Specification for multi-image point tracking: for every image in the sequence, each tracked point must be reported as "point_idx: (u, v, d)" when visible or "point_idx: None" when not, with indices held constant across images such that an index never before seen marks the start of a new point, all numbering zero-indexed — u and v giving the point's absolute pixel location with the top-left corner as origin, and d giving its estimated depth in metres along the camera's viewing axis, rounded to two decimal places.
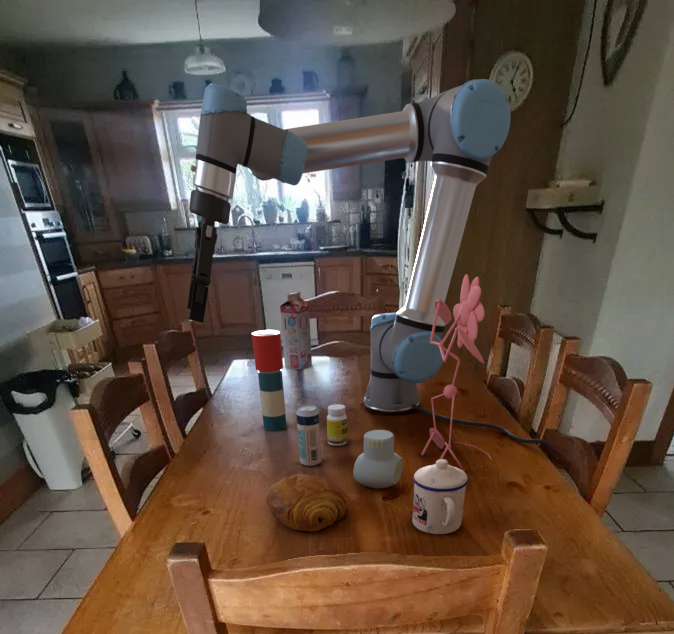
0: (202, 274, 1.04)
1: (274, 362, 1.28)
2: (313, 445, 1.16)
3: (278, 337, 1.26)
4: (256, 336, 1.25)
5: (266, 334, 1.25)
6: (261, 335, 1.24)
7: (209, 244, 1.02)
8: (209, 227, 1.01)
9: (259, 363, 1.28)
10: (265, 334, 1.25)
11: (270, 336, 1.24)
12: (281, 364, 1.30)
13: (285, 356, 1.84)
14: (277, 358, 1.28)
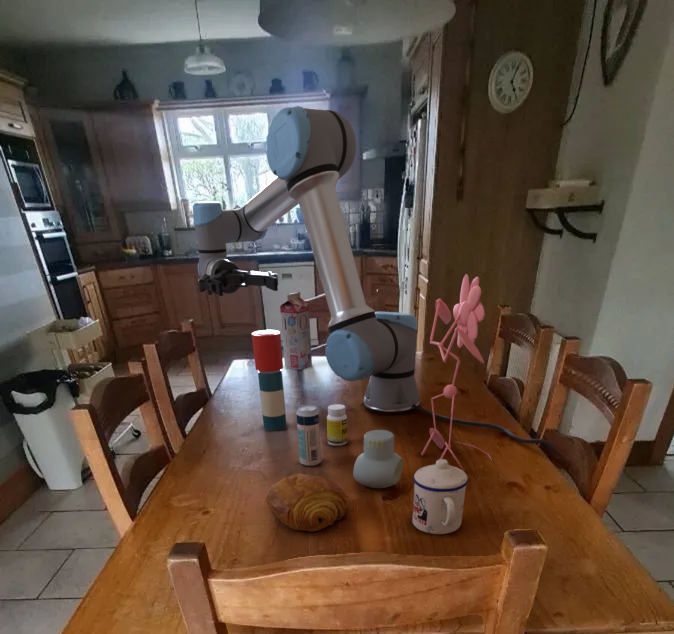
0: None
1: (274, 362, 1.28)
2: (313, 445, 1.16)
3: (278, 337, 1.26)
4: (256, 336, 1.25)
5: (266, 334, 1.25)
6: (261, 335, 1.24)
7: None
8: None
9: (259, 363, 1.28)
10: (265, 334, 1.25)
11: (270, 336, 1.24)
12: (281, 364, 1.30)
13: (285, 356, 1.84)
14: (277, 358, 1.28)
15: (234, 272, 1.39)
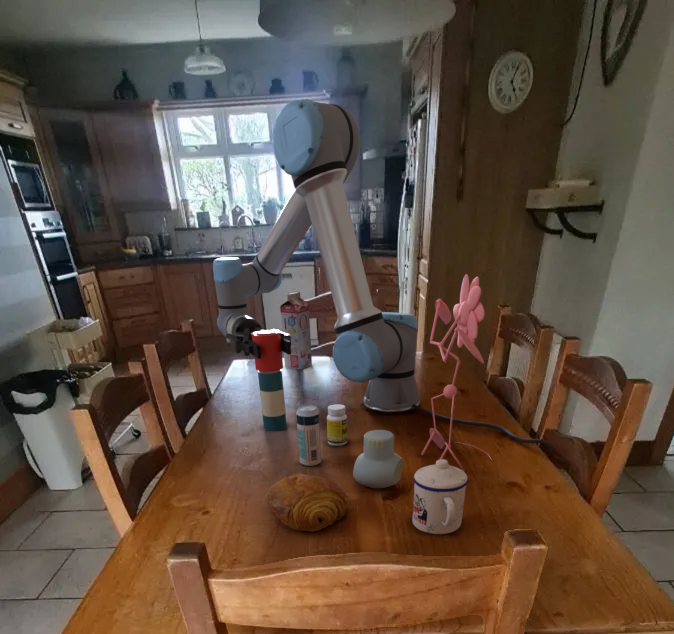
0: None
1: (274, 362, 1.28)
2: (313, 445, 1.16)
3: (278, 337, 1.26)
4: (256, 336, 1.25)
5: (266, 334, 1.25)
6: (261, 335, 1.24)
7: (230, 340, 1.32)
8: None
9: (259, 363, 1.28)
10: (265, 334, 1.25)
11: (270, 336, 1.24)
12: (281, 364, 1.30)
13: (285, 356, 1.84)
14: (277, 358, 1.28)
15: (256, 330, 1.36)
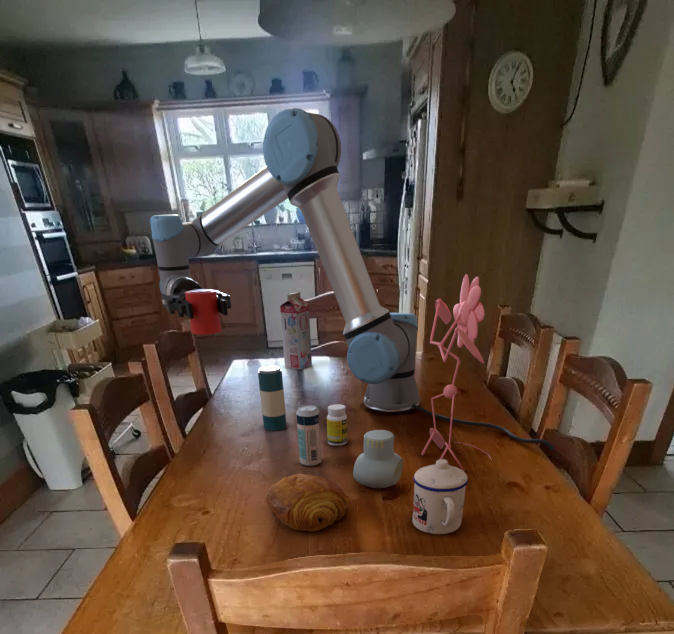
0: None
1: (210, 323, 1.18)
2: (313, 445, 1.16)
3: (213, 296, 1.16)
4: (189, 294, 1.15)
5: (200, 292, 1.15)
6: (194, 293, 1.14)
7: (165, 301, 1.22)
8: (162, 301, 1.25)
9: (194, 325, 1.18)
10: (199, 292, 1.15)
11: (204, 294, 1.14)
12: (218, 326, 1.20)
13: (285, 356, 1.84)
14: (213, 319, 1.18)
15: None
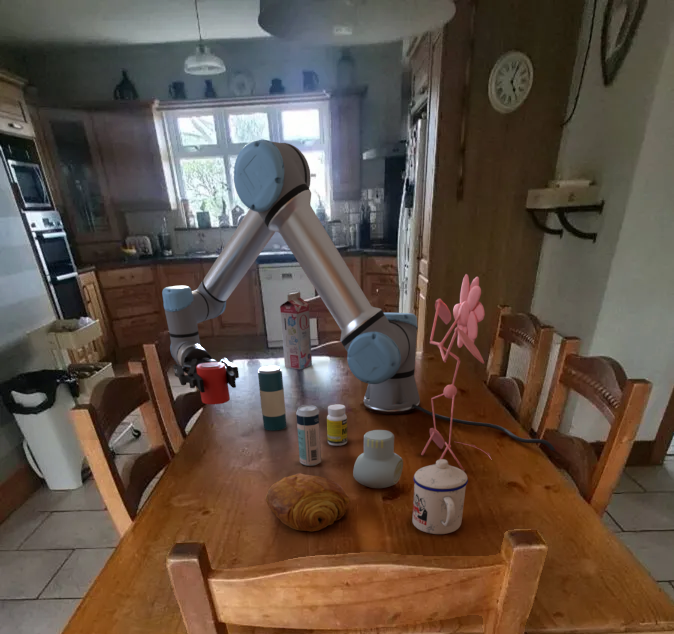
0: None
1: (219, 394, 1.27)
2: (313, 445, 1.16)
3: (222, 370, 1.25)
4: (200, 369, 1.23)
5: (210, 367, 1.24)
6: (205, 368, 1.23)
7: (177, 371, 1.31)
8: (174, 370, 1.33)
9: (204, 396, 1.27)
10: (209, 367, 1.24)
11: (214, 370, 1.23)
12: (227, 396, 1.28)
13: (285, 356, 1.84)
14: (222, 391, 1.27)
15: (204, 360, 1.35)
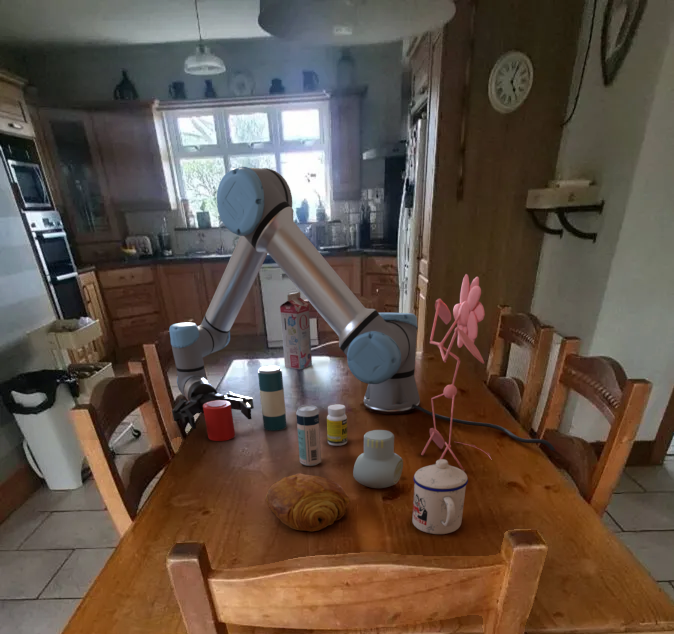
0: None
1: (225, 432, 1.32)
2: (313, 445, 1.16)
3: (228, 409, 1.30)
4: (206, 408, 1.29)
5: (216, 406, 1.29)
6: (211, 408, 1.28)
7: None
8: None
9: (211, 433, 1.32)
10: (215, 406, 1.29)
11: (220, 409, 1.28)
12: (232, 433, 1.34)
13: (285, 356, 1.84)
14: (228, 428, 1.32)
15: (210, 395, 1.40)
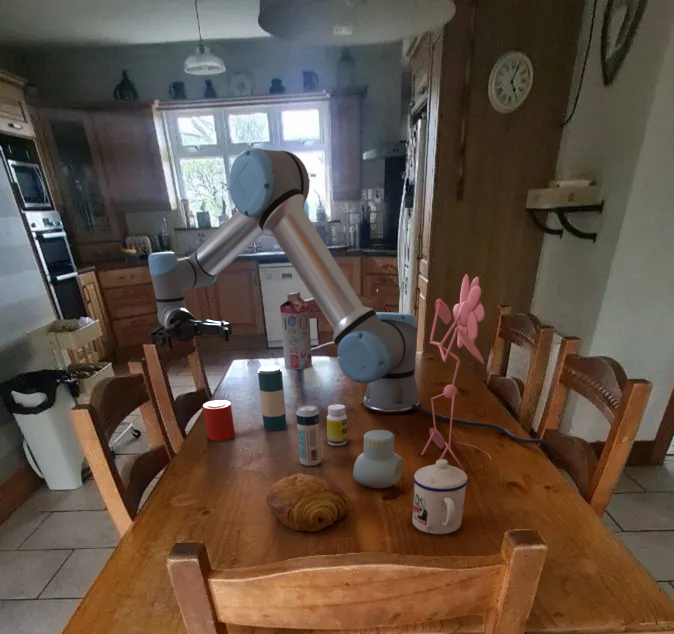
0: None
1: (225, 432, 1.32)
2: (313, 445, 1.16)
3: (228, 409, 1.30)
4: (206, 408, 1.29)
5: (216, 406, 1.29)
6: (211, 408, 1.28)
7: None
8: None
9: (211, 433, 1.32)
10: (215, 406, 1.29)
11: (220, 409, 1.28)
12: (232, 433, 1.34)
13: (285, 356, 1.84)
14: (228, 428, 1.32)
15: (188, 322, 1.39)
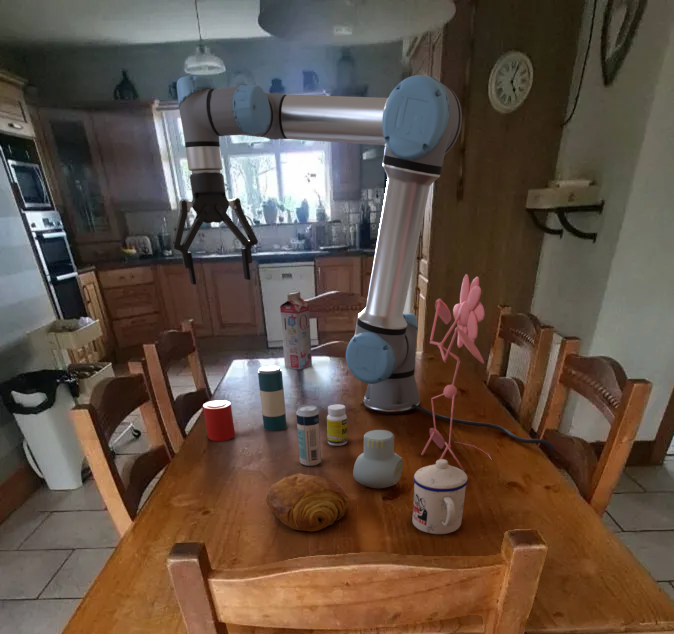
0: (183, 243, 1.27)
1: (225, 432, 1.32)
2: (313, 445, 1.16)
3: (228, 409, 1.30)
4: (206, 408, 1.29)
5: (216, 406, 1.29)
6: (211, 408, 1.28)
7: (180, 216, 1.24)
8: (180, 201, 1.23)
9: (211, 433, 1.32)
10: (215, 406, 1.29)
11: (220, 409, 1.28)
12: (232, 433, 1.34)
13: (285, 356, 1.84)
14: (228, 428, 1.32)
15: (216, 210, 1.25)
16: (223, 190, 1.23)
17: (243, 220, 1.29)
